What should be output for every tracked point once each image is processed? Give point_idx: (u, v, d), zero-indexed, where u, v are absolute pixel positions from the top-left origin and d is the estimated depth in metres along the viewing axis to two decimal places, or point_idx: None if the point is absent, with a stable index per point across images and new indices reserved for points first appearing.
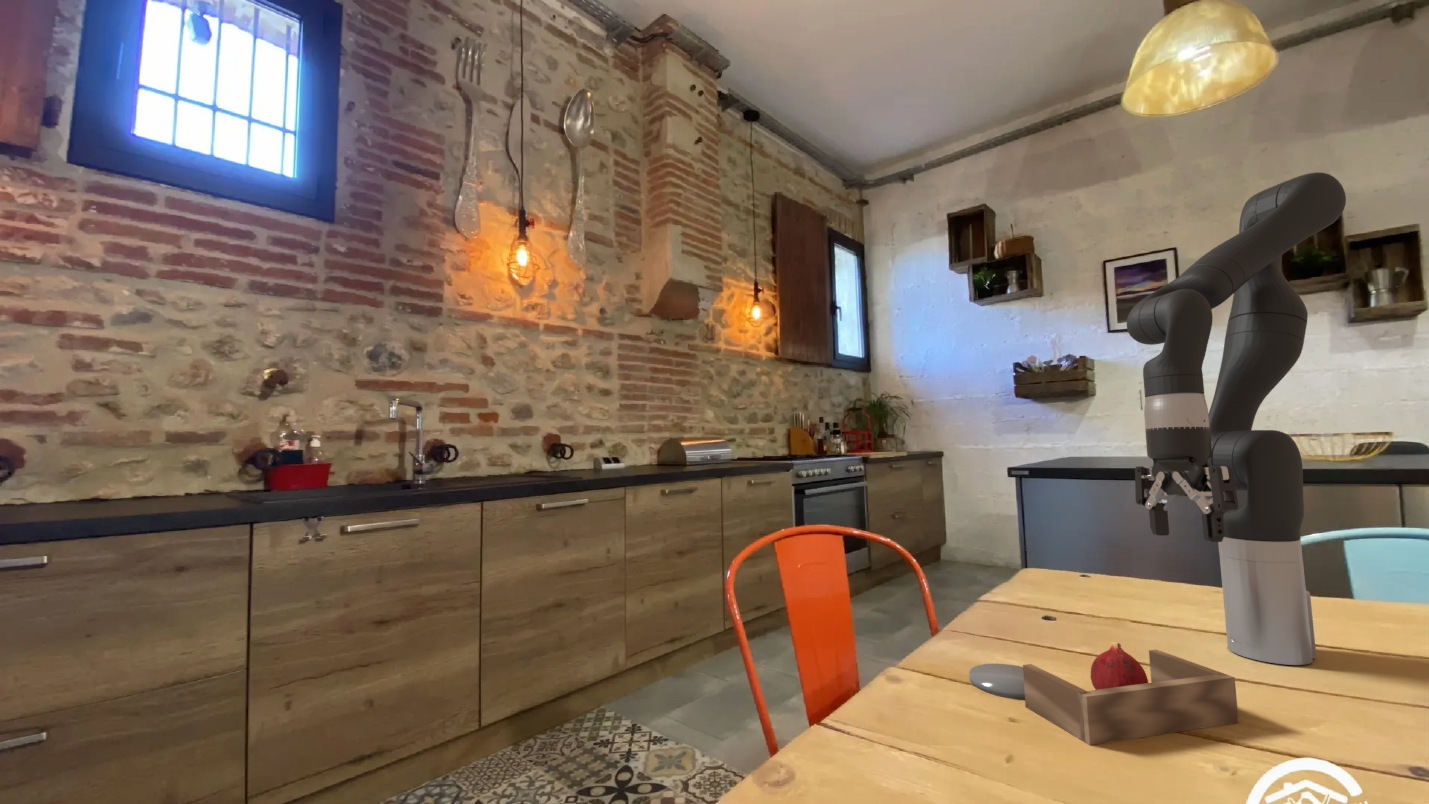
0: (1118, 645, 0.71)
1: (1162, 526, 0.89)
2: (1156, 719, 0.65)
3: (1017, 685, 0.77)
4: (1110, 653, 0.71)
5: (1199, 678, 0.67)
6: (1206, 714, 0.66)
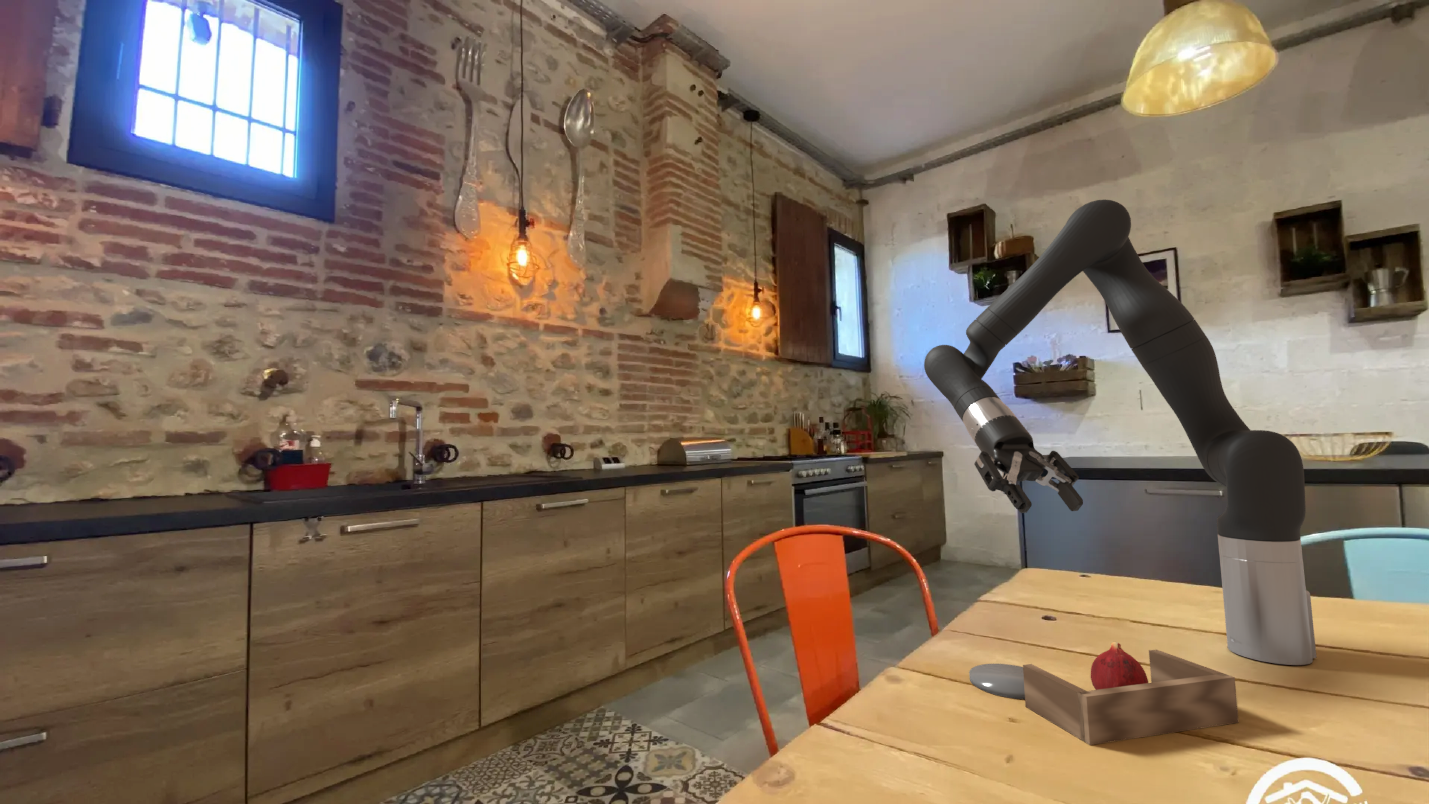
0: (1118, 645, 0.71)
1: (1070, 500, 0.87)
2: (1156, 719, 0.65)
3: (1017, 685, 0.77)
4: (1110, 653, 0.71)
5: (1199, 678, 0.67)
6: (1206, 714, 0.66)
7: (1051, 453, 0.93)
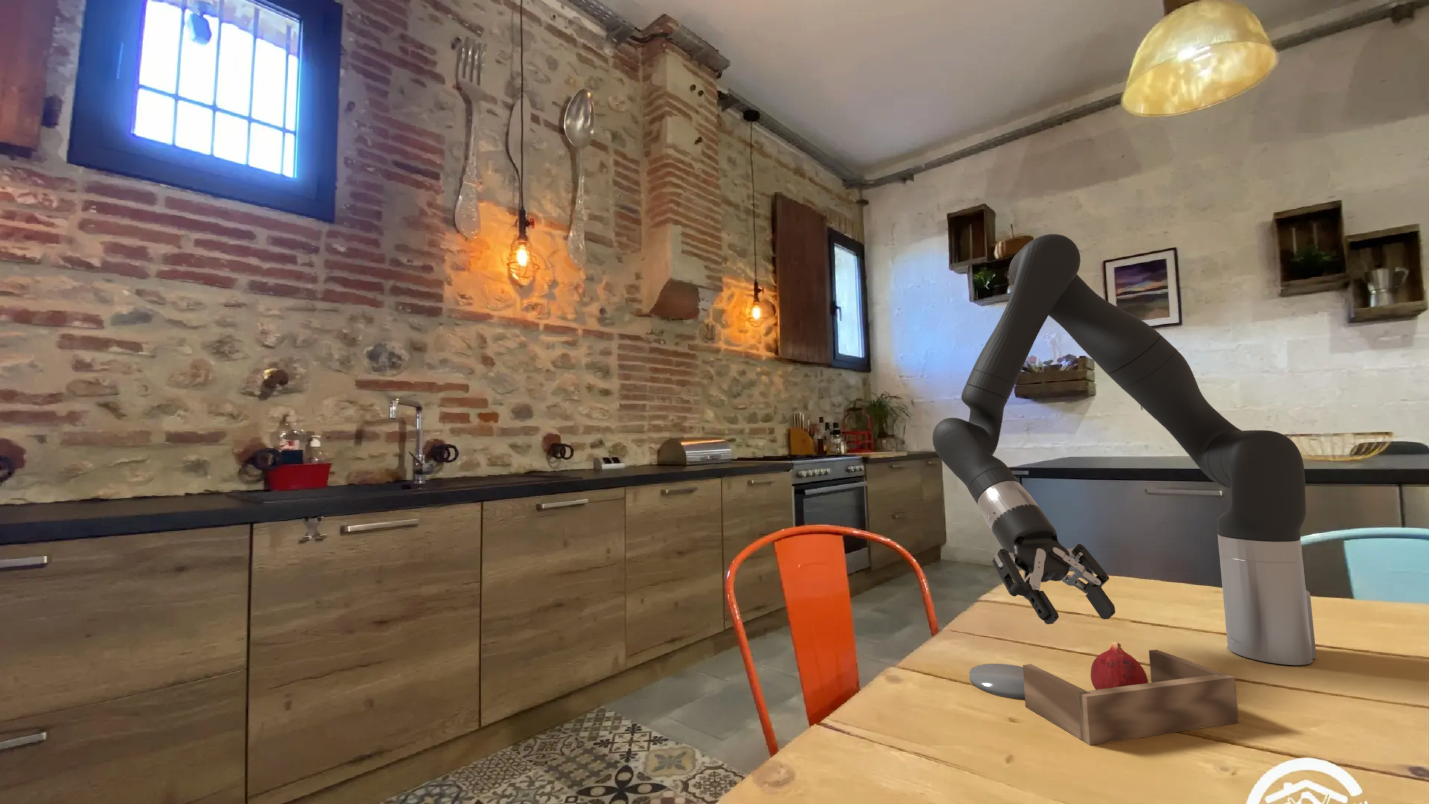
0: (1118, 645, 0.71)
1: (1100, 606, 0.78)
2: (1156, 719, 0.65)
3: (1017, 685, 0.77)
4: (1110, 653, 0.71)
5: (1199, 678, 0.67)
6: (1206, 714, 0.66)
7: (1077, 547, 0.84)
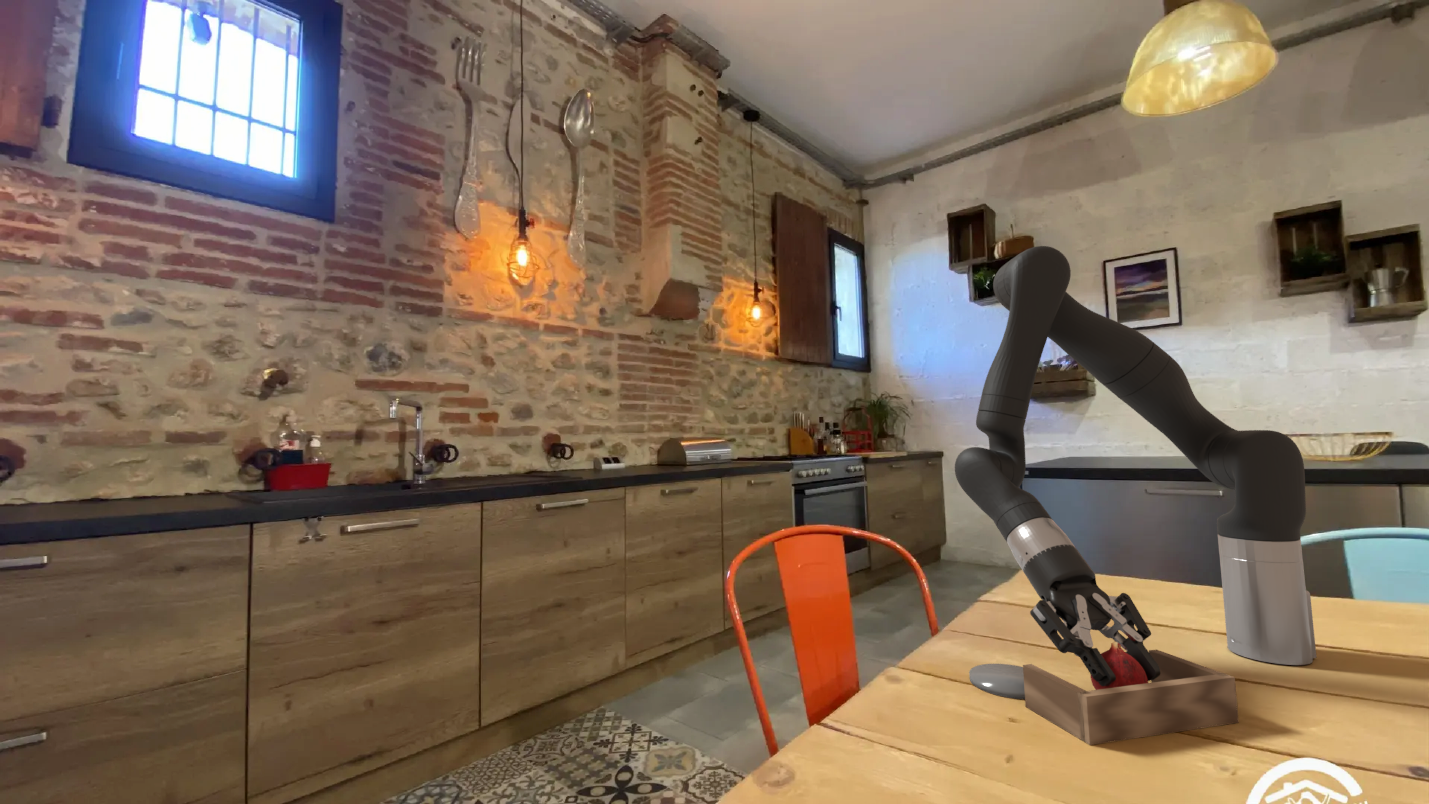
0: (1118, 645, 0.71)
1: (1143, 666, 0.71)
2: (1156, 719, 0.65)
3: (1017, 685, 0.77)
4: (1110, 653, 0.71)
5: (1199, 678, 0.67)
6: (1206, 714, 0.66)
7: (1121, 596, 0.77)
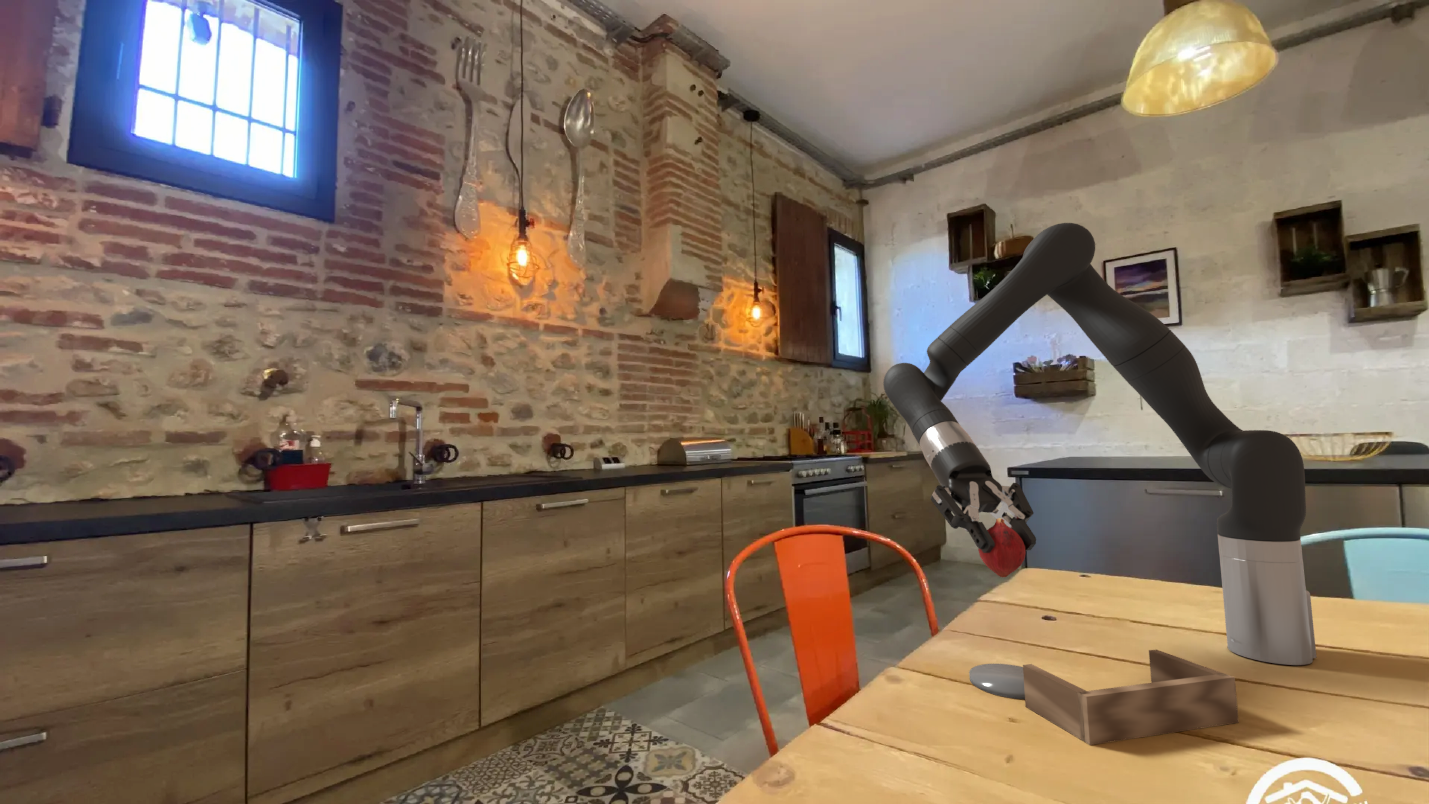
0: (1001, 520, 0.81)
1: (1023, 538, 0.81)
2: (1156, 719, 0.65)
3: (1017, 685, 0.77)
4: (994, 527, 0.81)
5: (1199, 678, 0.67)
6: (1206, 714, 0.66)
7: (1012, 485, 0.87)
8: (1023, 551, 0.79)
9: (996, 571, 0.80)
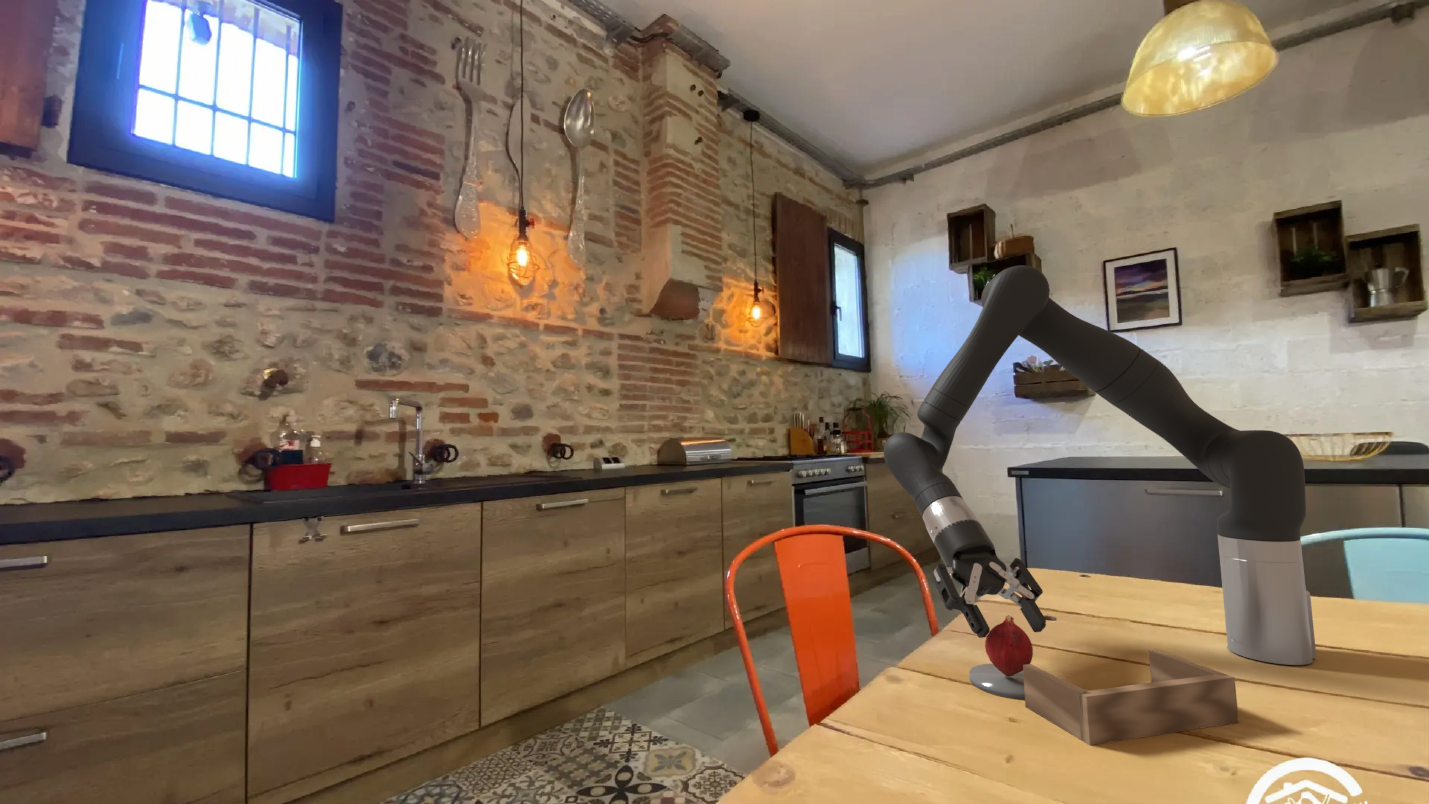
0: (1011, 619, 0.80)
1: (1032, 620, 0.81)
2: (1156, 719, 0.65)
3: (1017, 685, 0.77)
4: (1003, 625, 0.80)
5: (1199, 678, 0.67)
6: (1206, 714, 0.66)
7: (1014, 561, 0.87)
8: (1031, 654, 0.78)
9: (1002, 671, 0.79)
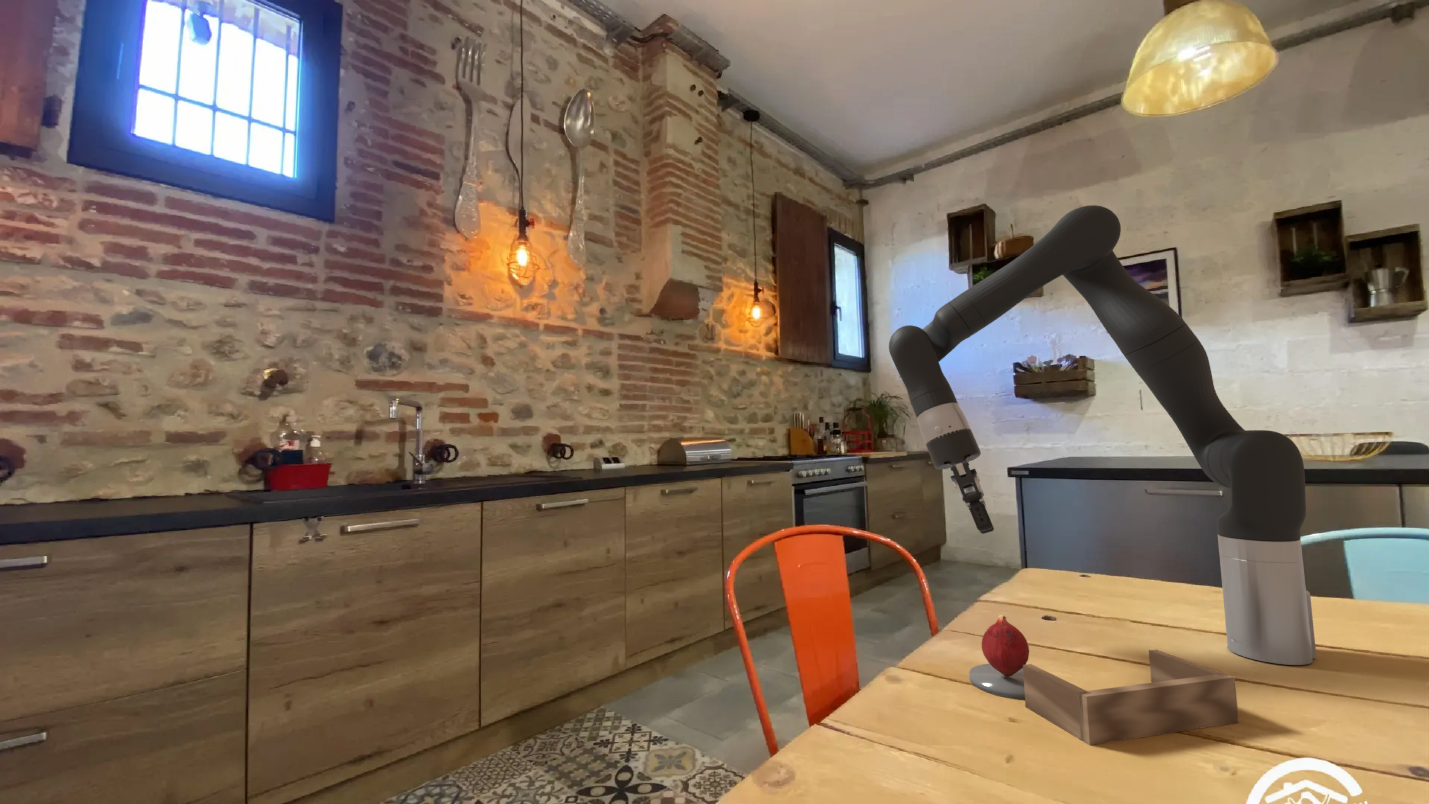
0: (1003, 618, 0.80)
1: None
2: (1156, 719, 0.65)
3: (1017, 685, 0.77)
4: (996, 625, 0.80)
5: (1199, 678, 0.67)
6: (1206, 714, 0.66)
7: None
8: (1027, 651, 0.78)
9: (1001, 671, 0.79)
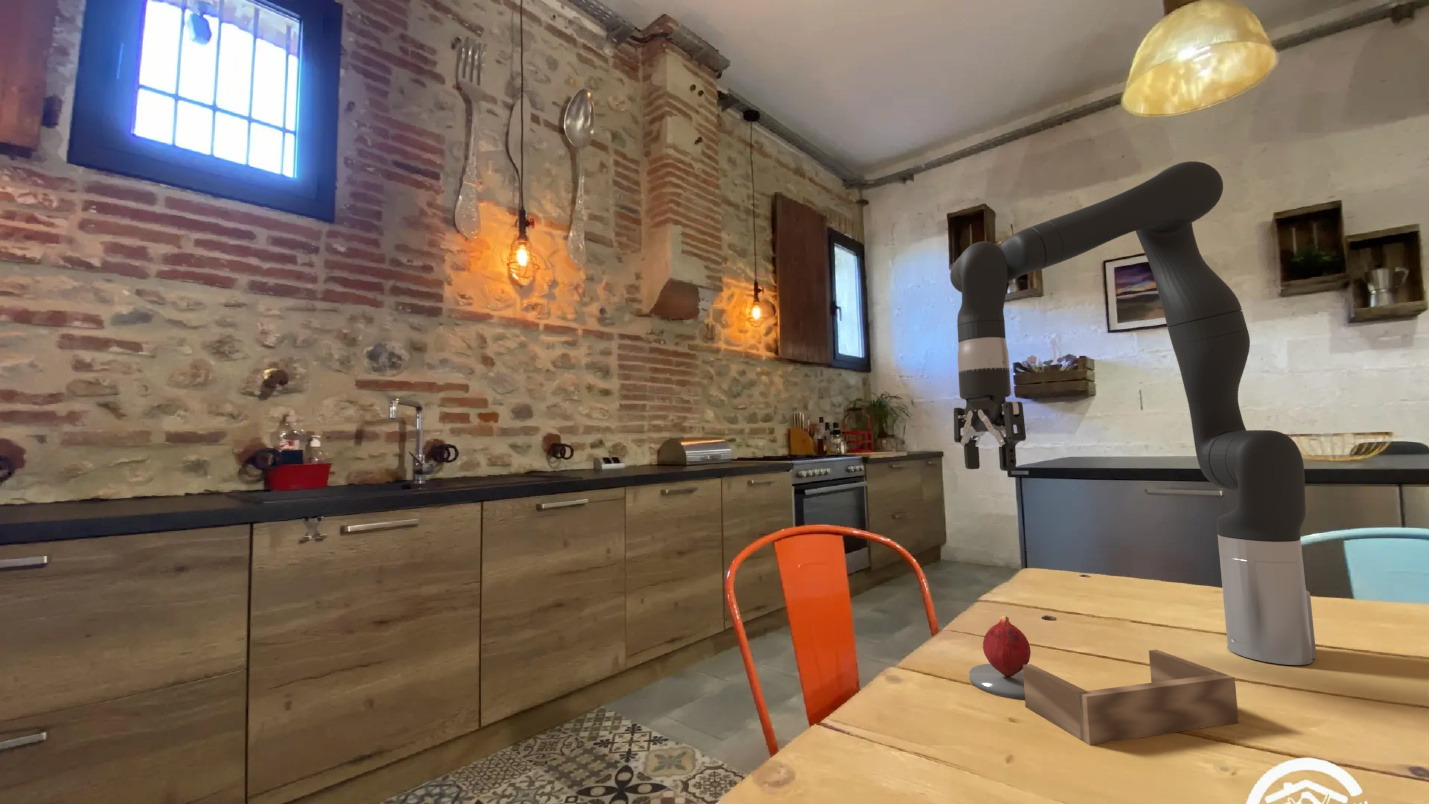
0: (1006, 618, 0.80)
1: (973, 460, 0.98)
2: (1156, 719, 0.65)
3: (1017, 685, 0.77)
4: (999, 625, 0.80)
5: (1199, 678, 0.67)
6: (1206, 714, 0.66)
7: None
8: (1028, 652, 0.78)
9: (1001, 671, 0.79)
